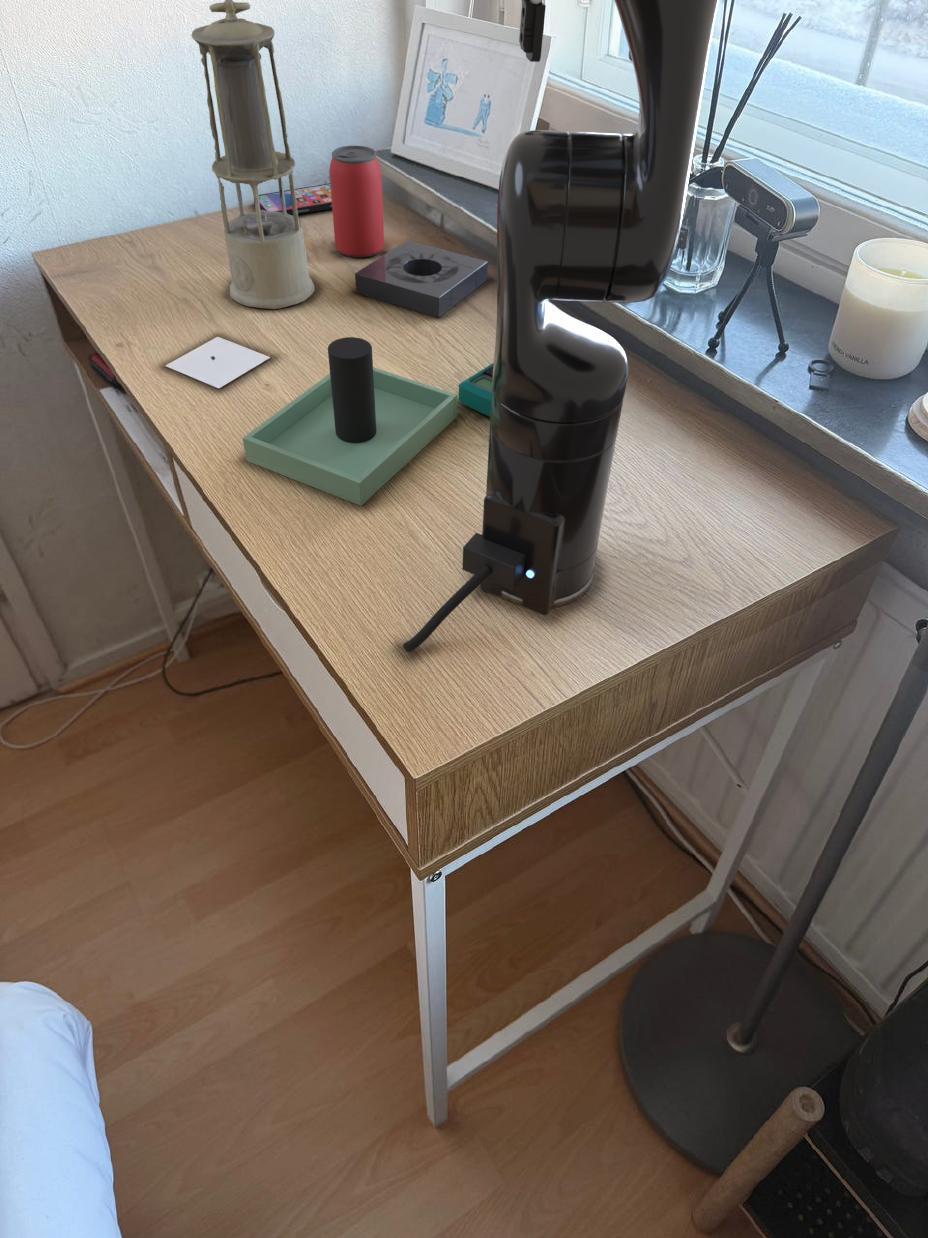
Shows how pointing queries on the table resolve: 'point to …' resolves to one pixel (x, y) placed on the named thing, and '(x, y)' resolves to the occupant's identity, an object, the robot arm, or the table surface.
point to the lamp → (252, 164)
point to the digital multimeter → (478, 391)
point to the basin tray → (351, 470)
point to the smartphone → (299, 200)
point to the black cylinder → (352, 389)
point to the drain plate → (421, 278)
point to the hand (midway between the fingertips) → (585, 60)
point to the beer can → (357, 201)
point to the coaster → (217, 362)
